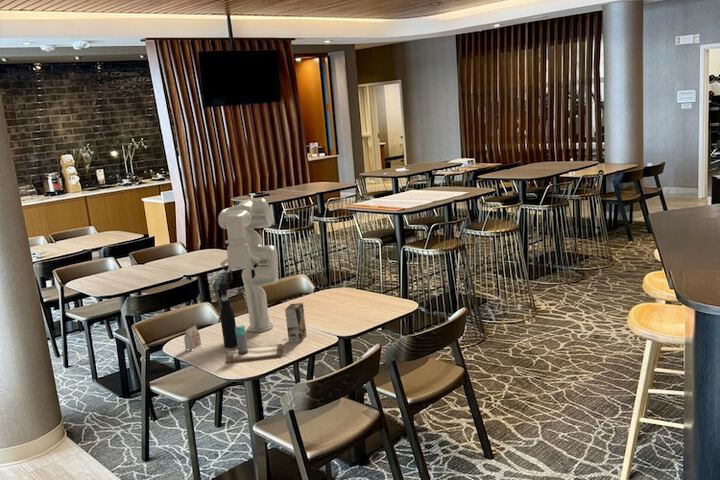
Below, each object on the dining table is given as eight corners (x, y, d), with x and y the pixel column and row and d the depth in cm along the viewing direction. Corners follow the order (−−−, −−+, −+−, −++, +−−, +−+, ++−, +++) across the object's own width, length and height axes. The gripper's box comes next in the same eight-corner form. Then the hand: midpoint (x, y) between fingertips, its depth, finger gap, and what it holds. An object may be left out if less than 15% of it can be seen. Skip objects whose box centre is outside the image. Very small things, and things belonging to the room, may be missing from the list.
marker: (238, 352, 297) (235, 326, 295) (248, 351, 298) (244, 325, 295) (238, 355, 293) (234, 329, 291) (247, 354, 294) (244, 328, 291)
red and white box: (185, 350, 310) (182, 330, 308) (195, 345, 316) (192, 325, 314) (192, 351, 308) (189, 330, 306) (201, 345, 314) (198, 325, 312)
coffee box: (301, 342, 306) (297, 308, 303) (288, 342, 307) (284, 309, 304) (307, 335, 314) (303, 302, 311) (294, 335, 316) (290, 303, 313)
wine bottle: (240, 343, 312) (232, 281, 306) (234, 348, 306) (225, 285, 300) (228, 343, 314) (220, 281, 308) (221, 348, 308) (213, 285, 302)
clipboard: (229, 352, 302) (228, 347, 302) (282, 345, 304) (281, 341, 303) (225, 363, 288) (225, 359, 288) (281, 357, 290) (280, 352, 289)
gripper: (216, 245, 289) (221, 283, 293) (256, 241, 290) (261, 279, 294) (218, 242, 297) (223, 279, 300) (257, 238, 298) (262, 274, 301)
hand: (242, 279), depth 297 cm, fingers open, 9 cm apart
